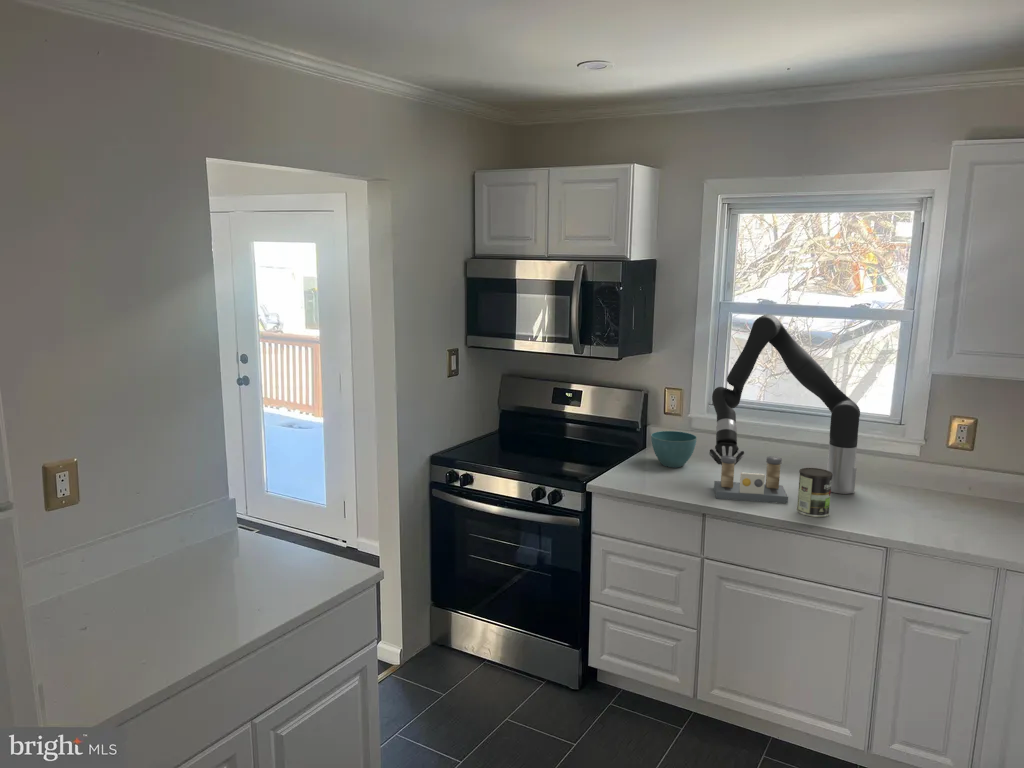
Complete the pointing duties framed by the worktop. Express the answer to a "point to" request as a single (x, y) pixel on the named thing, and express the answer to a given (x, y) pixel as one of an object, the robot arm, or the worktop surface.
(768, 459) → the near knob
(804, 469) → the coffee can
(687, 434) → the teal round bowl
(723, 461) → the far knob
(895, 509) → the worktop surface
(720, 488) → the slider board
